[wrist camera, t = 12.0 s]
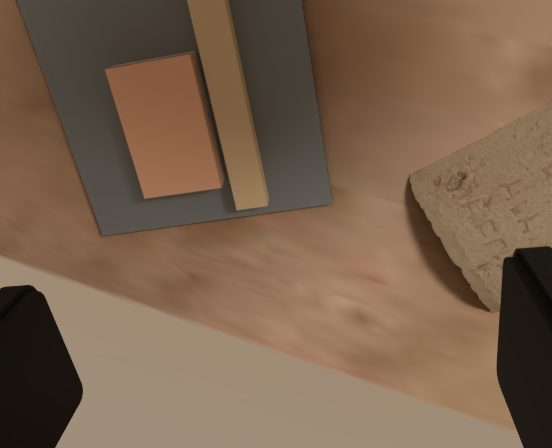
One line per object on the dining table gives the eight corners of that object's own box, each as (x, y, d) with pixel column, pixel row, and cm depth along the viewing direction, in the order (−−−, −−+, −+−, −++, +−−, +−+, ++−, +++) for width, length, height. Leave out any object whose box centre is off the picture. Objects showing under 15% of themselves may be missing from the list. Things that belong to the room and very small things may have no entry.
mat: (0, -53, 29) (-16, -55, 27) (284, -119, 26) (282, -125, 25) (104, 233, 36) (95, 244, 35) (332, 201, 34) (332, 211, 32)
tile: (195, 50, 30) (114, 65, 31) (189, 54, 28) (104, 69, 29) (225, 178, 33) (151, 189, 34) (221, 187, 32) (144, 198, 32)
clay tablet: (637, 257, 35) (661, 278, 32) (495, 323, 38) (507, 347, 35) (548, 75, 30) (568, 84, 28) (395, 168, 33) (401, 183, 31)
